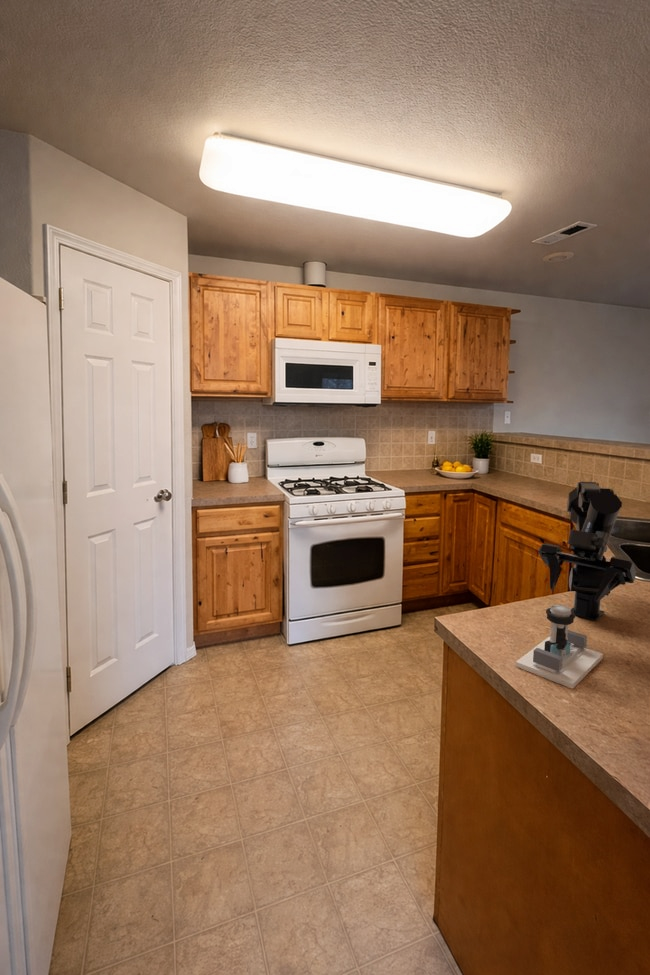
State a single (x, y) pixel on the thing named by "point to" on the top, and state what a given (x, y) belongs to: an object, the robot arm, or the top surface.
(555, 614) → the push button
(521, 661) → the rail board
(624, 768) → the top surface
